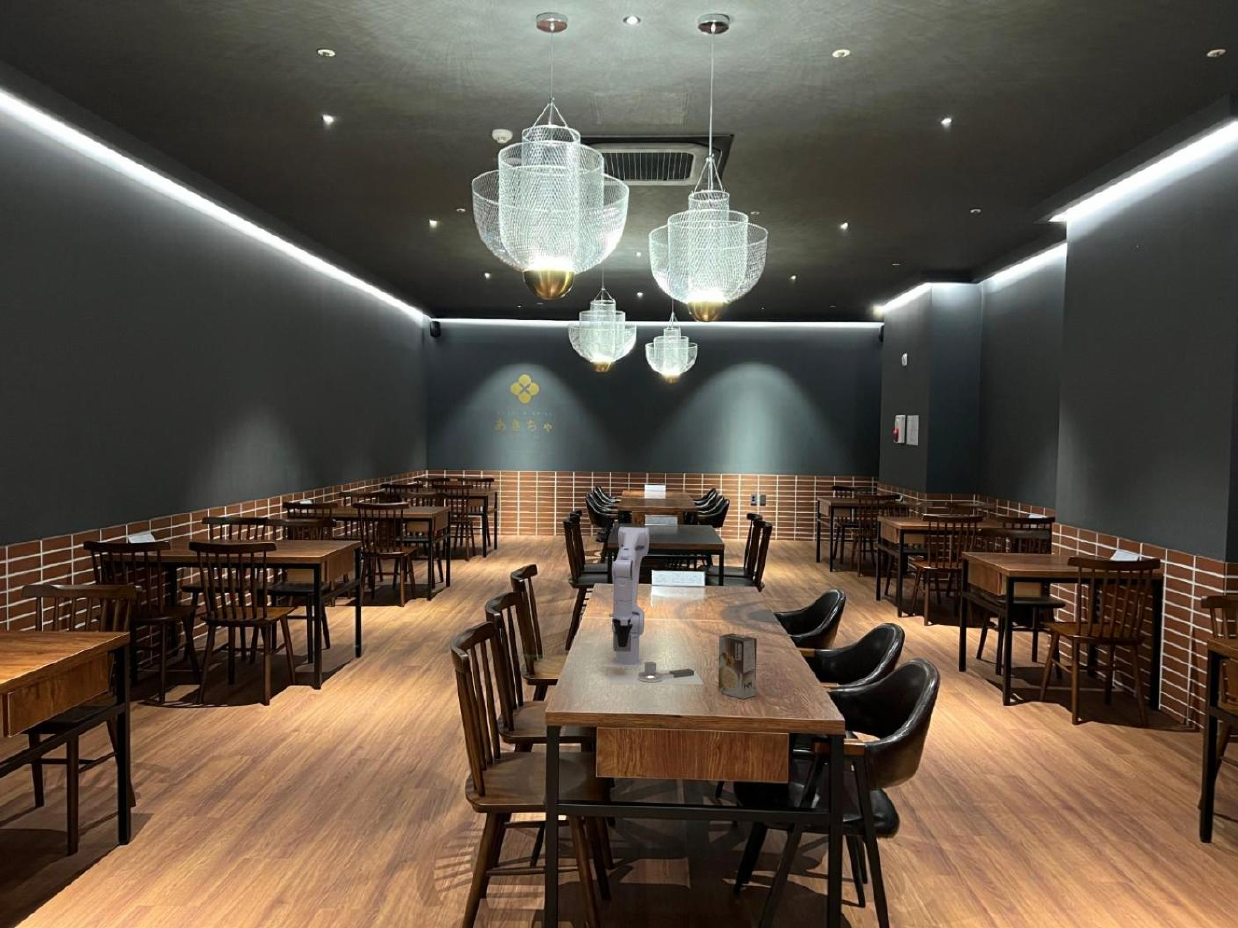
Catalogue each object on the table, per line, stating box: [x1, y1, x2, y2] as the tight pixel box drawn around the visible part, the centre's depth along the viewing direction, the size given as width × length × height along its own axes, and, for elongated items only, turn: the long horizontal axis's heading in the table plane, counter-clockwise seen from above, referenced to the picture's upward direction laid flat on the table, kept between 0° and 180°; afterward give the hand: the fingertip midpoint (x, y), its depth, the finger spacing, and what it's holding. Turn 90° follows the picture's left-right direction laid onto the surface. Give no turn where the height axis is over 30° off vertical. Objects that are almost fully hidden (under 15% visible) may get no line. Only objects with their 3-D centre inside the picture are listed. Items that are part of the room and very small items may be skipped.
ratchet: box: [638, 661, 694, 683], centre depth 258 cm, size 7×18×5 cm, turn 119°
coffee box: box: [717, 633, 758, 700], centre depth 244 cm, size 9×6×16 cm
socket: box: [612, 631, 631, 652], centre depth 262 cm, size 5×5×5 cm
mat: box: [606, 669, 705, 685], centre depth 259 cm, size 16×27×1 cm, turn 94°
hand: (621, 644), depth 262 cm, fingers closed on socket, 5 cm apart
